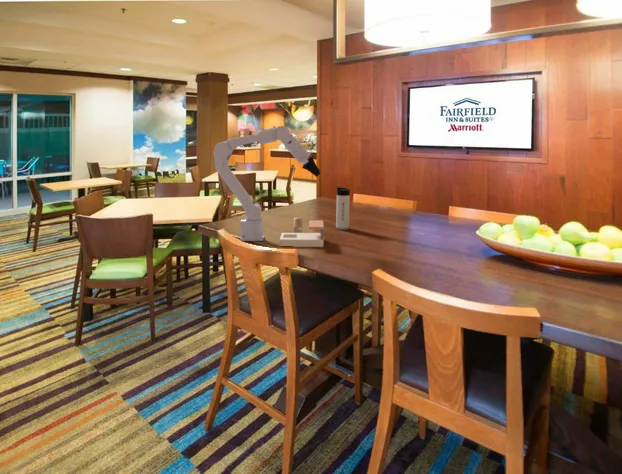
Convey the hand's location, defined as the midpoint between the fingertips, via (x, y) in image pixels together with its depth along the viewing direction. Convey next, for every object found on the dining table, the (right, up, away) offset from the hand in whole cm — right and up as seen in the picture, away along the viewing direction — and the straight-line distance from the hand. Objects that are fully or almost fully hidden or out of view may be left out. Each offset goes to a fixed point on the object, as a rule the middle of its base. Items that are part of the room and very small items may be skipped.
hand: (318, 173), depth 182 cm
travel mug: (+12, -23, +27) cm, 37 cm away
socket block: (-7, -29, 0) cm, 30 cm away
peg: (-9, -26, +12) cm, 30 cm away
